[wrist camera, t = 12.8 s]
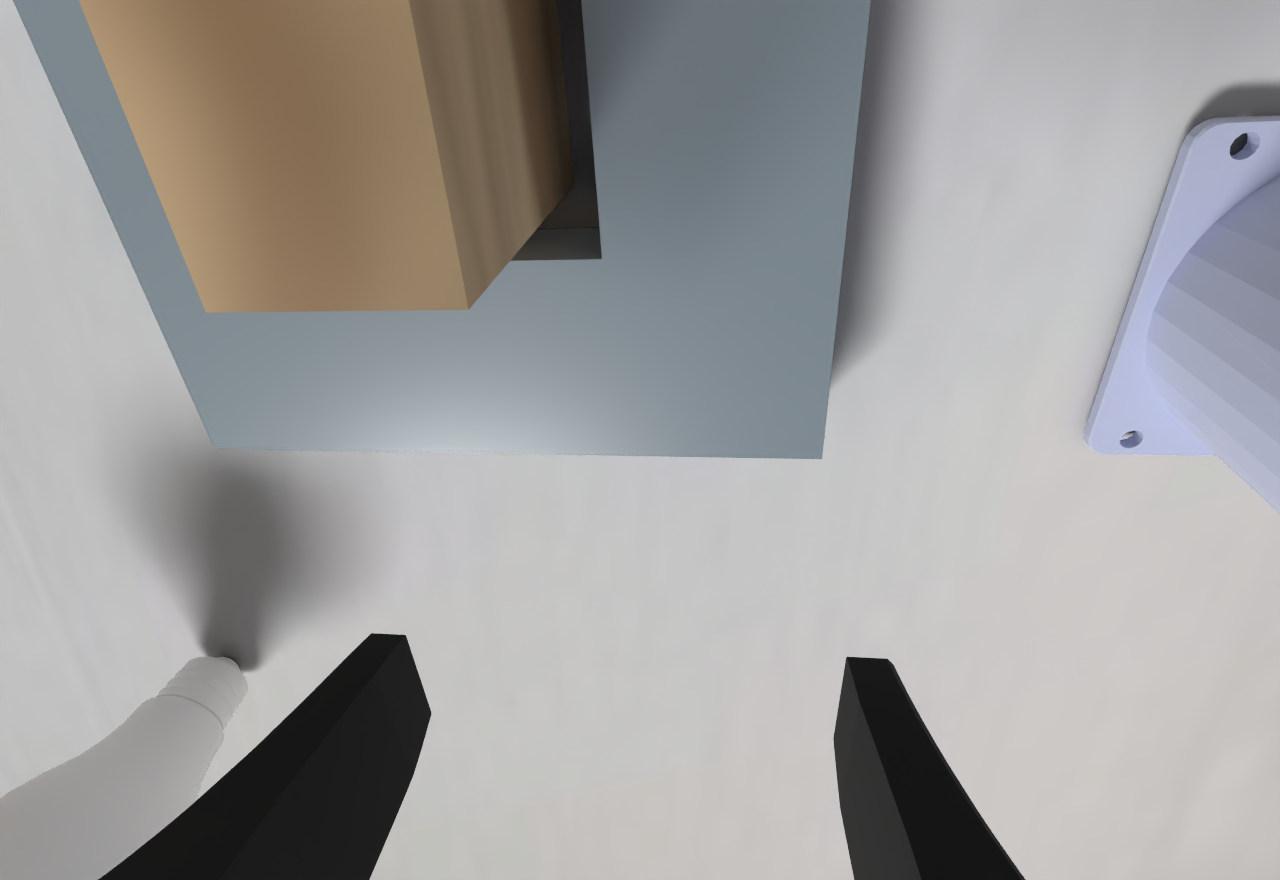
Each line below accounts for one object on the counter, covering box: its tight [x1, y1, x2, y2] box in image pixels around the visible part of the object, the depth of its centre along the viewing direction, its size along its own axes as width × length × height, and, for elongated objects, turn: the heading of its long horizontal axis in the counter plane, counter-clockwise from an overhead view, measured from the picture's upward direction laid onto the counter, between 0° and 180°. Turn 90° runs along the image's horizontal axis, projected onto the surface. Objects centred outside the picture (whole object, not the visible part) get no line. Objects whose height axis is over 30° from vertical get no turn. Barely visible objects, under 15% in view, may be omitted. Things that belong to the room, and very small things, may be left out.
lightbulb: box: [0, 656, 248, 880], centre depth 23 cm, size 6×6×11 cm
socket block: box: [13, 0, 871, 459], centre depth 14 cm, size 16×16×2 cm
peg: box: [79, 0, 575, 313], centre depth 12 cm, size 4×4×8 cm
